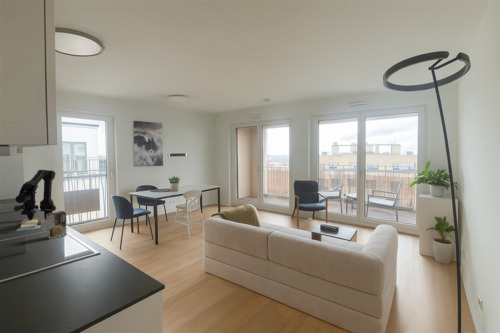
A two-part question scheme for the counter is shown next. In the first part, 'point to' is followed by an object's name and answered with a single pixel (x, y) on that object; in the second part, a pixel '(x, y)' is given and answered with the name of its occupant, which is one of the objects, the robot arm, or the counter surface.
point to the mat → (29, 228)
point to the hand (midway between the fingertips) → (30, 221)
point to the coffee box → (56, 224)
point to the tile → (29, 224)
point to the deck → (40, 220)
